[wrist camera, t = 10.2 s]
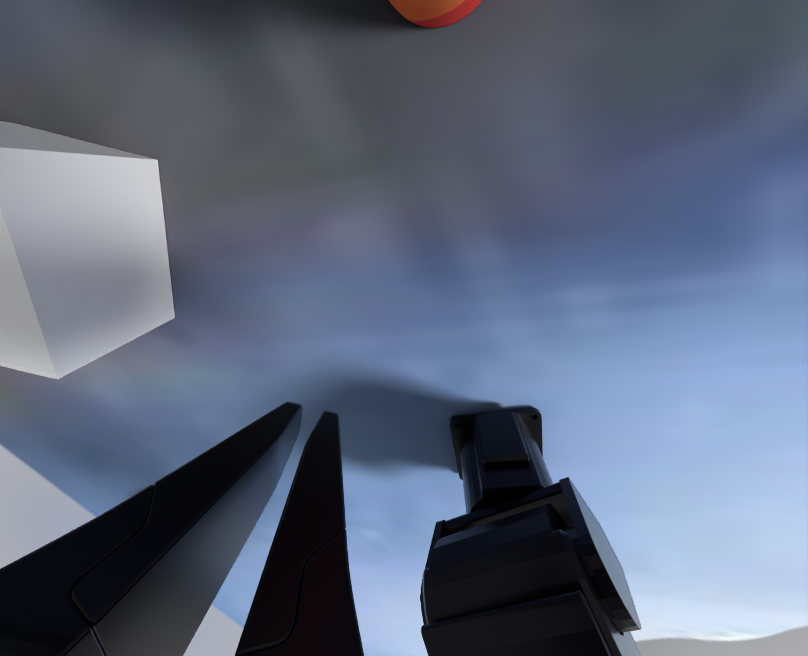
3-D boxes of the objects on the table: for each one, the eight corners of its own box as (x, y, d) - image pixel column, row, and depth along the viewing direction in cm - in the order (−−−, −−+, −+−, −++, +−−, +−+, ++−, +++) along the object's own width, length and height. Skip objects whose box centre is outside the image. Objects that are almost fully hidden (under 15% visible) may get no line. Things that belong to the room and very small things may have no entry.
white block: (157, 159, 17) (-41, 143, 10) (175, 318, 22) (46, 386, 14) (-11, 116, 17) (-337, 68, 10) (41, 285, 21) (-157, 338, 14)
